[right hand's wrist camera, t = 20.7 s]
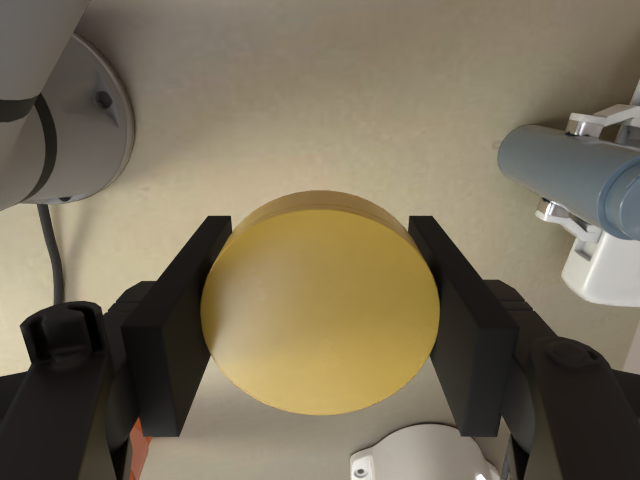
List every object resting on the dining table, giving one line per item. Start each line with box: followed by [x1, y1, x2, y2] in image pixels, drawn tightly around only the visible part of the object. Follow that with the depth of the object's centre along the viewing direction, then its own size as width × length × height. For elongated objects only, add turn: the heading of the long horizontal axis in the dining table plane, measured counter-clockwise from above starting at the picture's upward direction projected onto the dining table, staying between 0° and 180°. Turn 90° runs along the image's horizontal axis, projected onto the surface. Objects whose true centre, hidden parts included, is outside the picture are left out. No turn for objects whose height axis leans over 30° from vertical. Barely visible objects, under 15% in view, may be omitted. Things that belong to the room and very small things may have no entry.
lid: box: [200, 191, 440, 415], centre depth 11 cm, size 6×6×2 cm
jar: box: [498, 124, 640, 241], centre depth 30 cm, size 5×5×16 cm
